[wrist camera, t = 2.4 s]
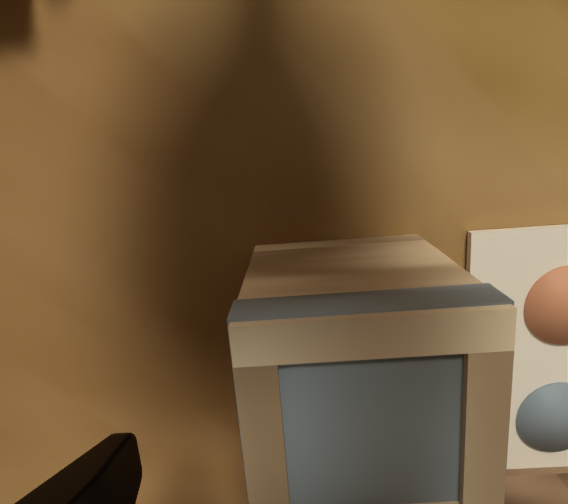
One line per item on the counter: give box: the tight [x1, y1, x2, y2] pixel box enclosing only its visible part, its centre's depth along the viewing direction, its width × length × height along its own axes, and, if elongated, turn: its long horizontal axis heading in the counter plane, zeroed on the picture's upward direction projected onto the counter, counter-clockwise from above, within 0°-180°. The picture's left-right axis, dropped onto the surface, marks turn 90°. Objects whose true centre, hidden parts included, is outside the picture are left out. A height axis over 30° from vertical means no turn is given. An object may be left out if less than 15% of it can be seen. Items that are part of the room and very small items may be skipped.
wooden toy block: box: [227, 234, 517, 504], centre depth 11 cm, size 5×5×6 cm
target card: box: [466, 224, 568, 469], centre depth 14 cm, size 6×9×1 cm, turn 4°
